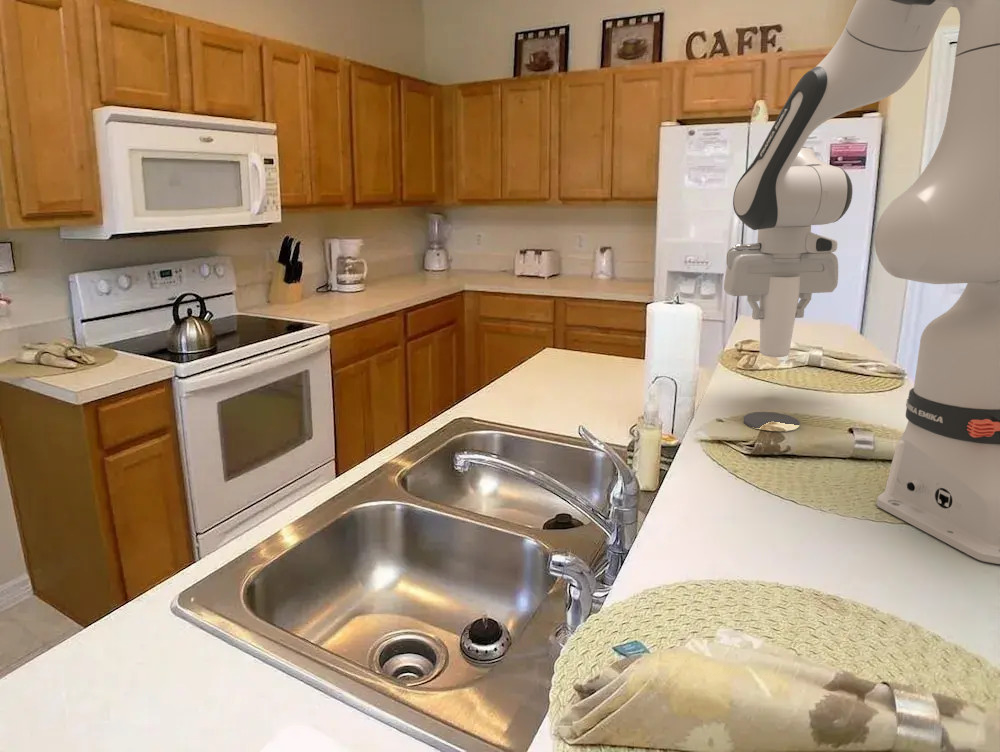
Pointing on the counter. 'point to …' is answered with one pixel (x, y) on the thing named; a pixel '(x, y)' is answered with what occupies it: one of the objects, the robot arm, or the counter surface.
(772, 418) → the coaster
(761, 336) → the drinking glass
